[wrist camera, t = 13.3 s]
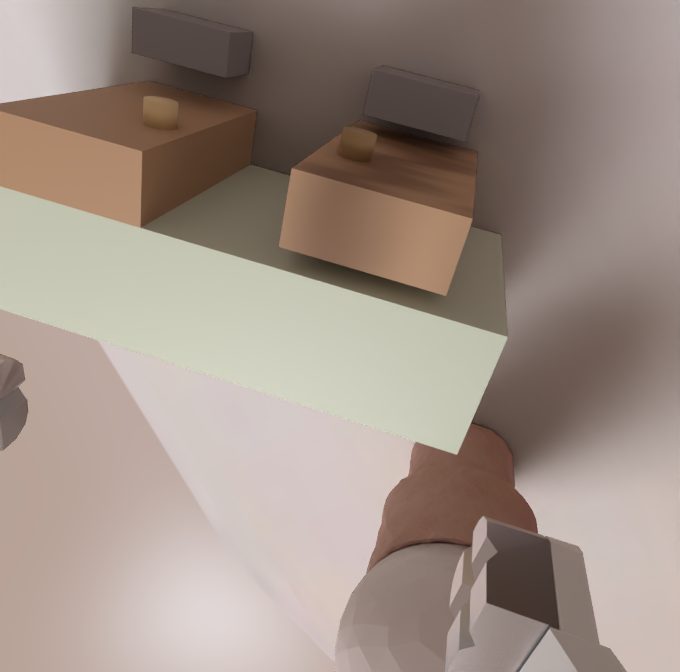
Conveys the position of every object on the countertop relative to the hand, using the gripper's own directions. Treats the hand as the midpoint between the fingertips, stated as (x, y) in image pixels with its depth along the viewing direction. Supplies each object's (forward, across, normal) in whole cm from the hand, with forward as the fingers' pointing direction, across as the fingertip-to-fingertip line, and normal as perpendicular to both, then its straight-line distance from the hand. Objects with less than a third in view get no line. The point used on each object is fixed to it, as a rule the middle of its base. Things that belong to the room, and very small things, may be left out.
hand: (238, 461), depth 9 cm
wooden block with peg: (+24, 0, 0) cm, 24 cm away
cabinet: (+24, -6, -2) cm, 25 cm away
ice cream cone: (+25, +9, -18) cm, 32 cm away
